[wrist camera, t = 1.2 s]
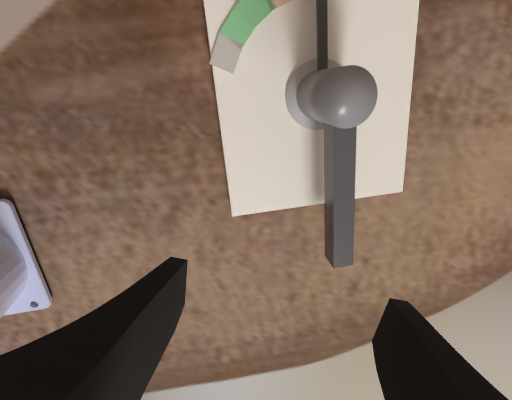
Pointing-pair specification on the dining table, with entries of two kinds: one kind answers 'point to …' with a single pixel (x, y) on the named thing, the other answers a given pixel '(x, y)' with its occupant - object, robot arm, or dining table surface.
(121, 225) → the dining table surface
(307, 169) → the board
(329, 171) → the grey dial pointer
